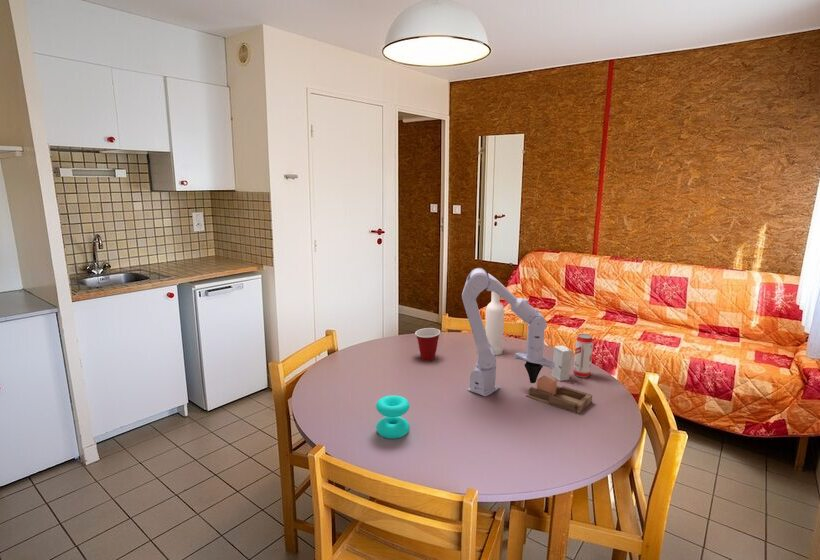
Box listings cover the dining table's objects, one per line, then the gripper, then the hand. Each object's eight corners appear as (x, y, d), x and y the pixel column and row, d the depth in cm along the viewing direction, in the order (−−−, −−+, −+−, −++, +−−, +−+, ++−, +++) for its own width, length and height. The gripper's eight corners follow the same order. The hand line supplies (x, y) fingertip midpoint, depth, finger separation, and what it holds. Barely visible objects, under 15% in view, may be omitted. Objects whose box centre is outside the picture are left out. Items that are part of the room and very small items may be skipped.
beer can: (587, 372, 187) (591, 333, 184) (592, 378, 181) (595, 339, 178) (571, 371, 188) (574, 333, 184) (575, 378, 182) (578, 338, 178)
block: (549, 398, 163) (550, 383, 162) (536, 394, 167) (537, 379, 165) (556, 393, 167) (557, 379, 166) (543, 389, 170) (543, 375, 169)
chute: (578, 414, 154) (579, 406, 153) (525, 396, 166) (526, 388, 166) (591, 402, 162) (592, 394, 161) (540, 386, 174) (540, 379, 174)
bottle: (505, 351, 210) (508, 285, 204) (498, 356, 203) (501, 289, 197) (488, 348, 214) (490, 283, 208) (481, 353, 207) (483, 286, 201)
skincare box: (550, 375, 184) (552, 345, 182) (560, 374, 185) (562, 344, 183) (560, 381, 178) (562, 351, 176) (570, 380, 180) (572, 350, 177)
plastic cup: (410, 355, 204) (410, 329, 202) (432, 352, 209) (433, 326, 206) (421, 364, 195) (421, 336, 192) (444, 360, 199) (445, 333, 197)
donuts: (394, 412, 134) (369, 402, 140) (394, 444, 136) (369, 432, 142) (416, 400, 141) (391, 390, 148) (416, 430, 143) (391, 420, 150)
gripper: (559, 348, 165) (557, 384, 168) (522, 338, 175) (520, 373, 177) (550, 353, 160) (548, 390, 163) (512, 343, 169) (510, 379, 172)
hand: (533, 382), depth 170 cm, fingers closed
